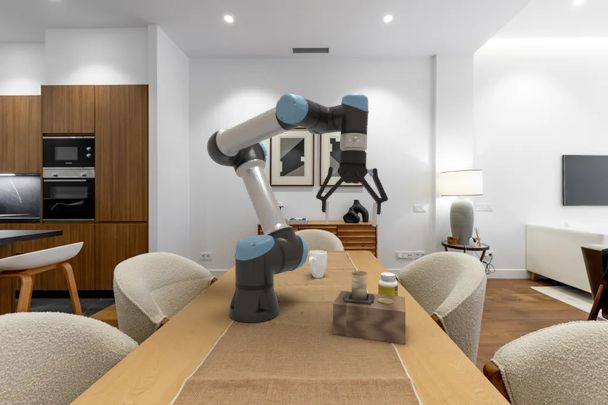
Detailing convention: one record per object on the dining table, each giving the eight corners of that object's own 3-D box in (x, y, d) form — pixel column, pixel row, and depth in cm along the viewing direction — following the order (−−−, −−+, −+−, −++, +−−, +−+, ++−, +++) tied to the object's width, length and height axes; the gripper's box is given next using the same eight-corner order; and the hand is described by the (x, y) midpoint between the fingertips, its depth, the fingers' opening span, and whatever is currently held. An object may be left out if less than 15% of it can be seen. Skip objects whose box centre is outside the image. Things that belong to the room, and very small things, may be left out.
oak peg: (350, 303, 83) (350, 273, 83) (352, 298, 87) (353, 270, 87) (365, 304, 82) (365, 274, 82) (367, 300, 86) (367, 271, 86)
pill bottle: (398, 311, 97) (398, 276, 97) (378, 310, 98) (378, 275, 98) (396, 305, 103) (397, 272, 103) (377, 303, 104) (378, 271, 104)
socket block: (332, 334, 81) (333, 301, 81) (341, 317, 92) (341, 288, 92) (405, 344, 75) (405, 309, 75) (404, 325, 87) (404, 294, 87)
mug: (314, 273, 145) (314, 249, 145) (330, 276, 141) (330, 251, 141) (301, 279, 135) (301, 253, 135) (318, 282, 131) (318, 255, 130)
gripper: (309, 147, 85) (306, 224, 85) (401, 150, 84) (397, 228, 84) (309, 151, 92) (307, 222, 93) (394, 153, 91) (391, 225, 92)
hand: (350, 225), depth 89 cm, fingers open, 13 cm apart
